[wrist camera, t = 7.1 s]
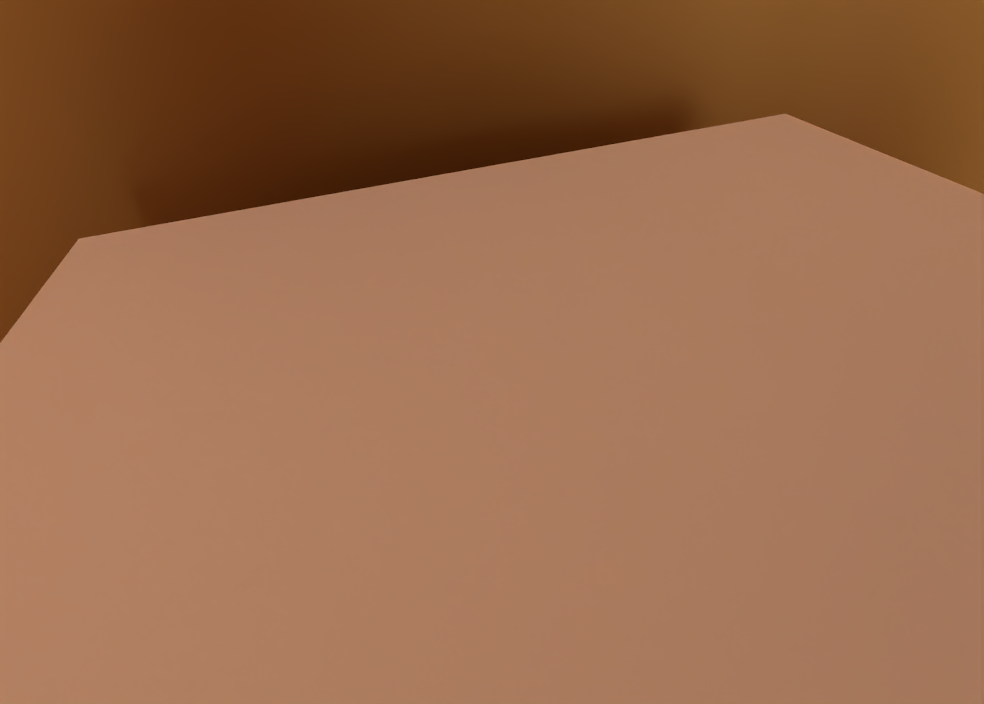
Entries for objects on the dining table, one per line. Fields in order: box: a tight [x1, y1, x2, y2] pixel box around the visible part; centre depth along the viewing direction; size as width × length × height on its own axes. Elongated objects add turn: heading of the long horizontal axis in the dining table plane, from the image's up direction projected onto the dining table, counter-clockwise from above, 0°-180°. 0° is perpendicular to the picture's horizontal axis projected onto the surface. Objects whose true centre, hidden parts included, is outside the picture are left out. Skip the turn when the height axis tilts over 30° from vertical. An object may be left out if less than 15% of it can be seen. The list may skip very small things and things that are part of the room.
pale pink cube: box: [0, 114, 984, 704], centre depth 7 cm, size 8×8×7 cm
